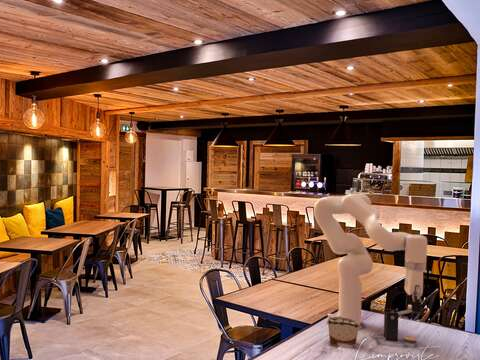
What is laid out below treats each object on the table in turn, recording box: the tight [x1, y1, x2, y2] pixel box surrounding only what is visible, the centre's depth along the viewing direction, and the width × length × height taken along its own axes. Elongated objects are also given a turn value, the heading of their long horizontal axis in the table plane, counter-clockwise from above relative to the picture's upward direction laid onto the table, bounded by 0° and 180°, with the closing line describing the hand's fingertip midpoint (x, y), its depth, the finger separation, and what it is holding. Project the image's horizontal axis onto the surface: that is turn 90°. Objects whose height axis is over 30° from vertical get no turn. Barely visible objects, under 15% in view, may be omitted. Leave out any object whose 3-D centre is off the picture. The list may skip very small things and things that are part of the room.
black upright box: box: [383, 308, 399, 343], centre depth 189 cm, size 10×8×13 cm
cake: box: [402, 334, 417, 344], centre depth 187 cm, size 5×5×3 cm
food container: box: [326, 317, 361, 347], centre depth 186 cm, size 12×6×10 cm, turn 71°
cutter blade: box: [391, 307, 423, 316], centre depth 187 cm, size 13×3×3 cm, turn 73°
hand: (413, 308), depth 187 cm, fingers open, 9 cm apart
